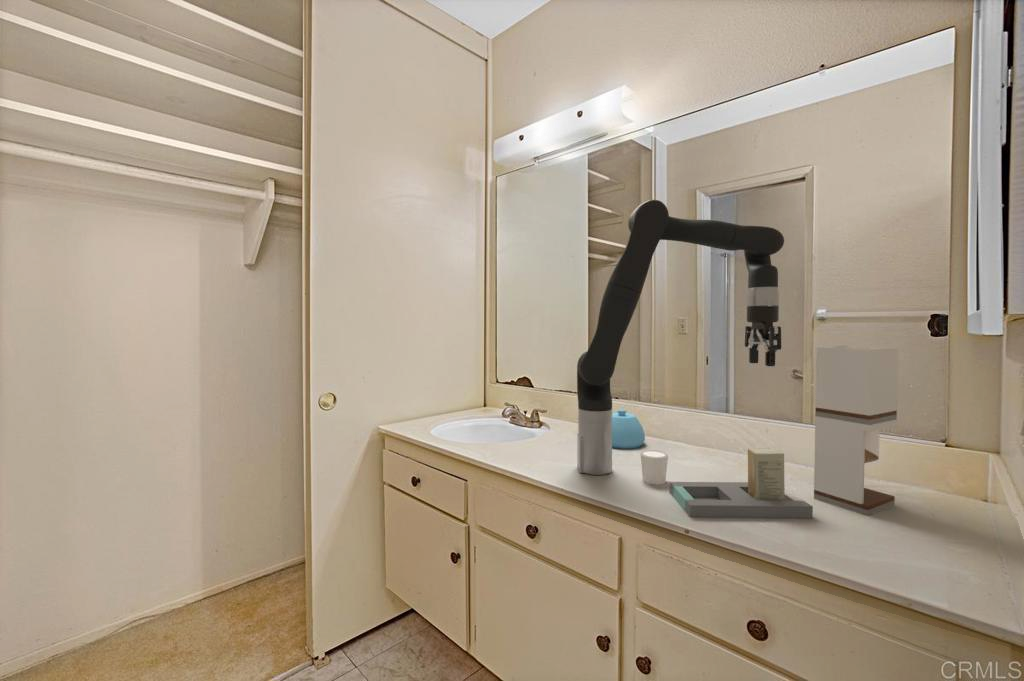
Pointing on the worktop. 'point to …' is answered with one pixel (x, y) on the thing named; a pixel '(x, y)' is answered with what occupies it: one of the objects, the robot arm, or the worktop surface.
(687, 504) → the slot holder
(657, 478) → the white tapered cup
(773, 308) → the robot arm
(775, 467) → the skincare box
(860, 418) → the coffee maker
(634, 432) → the sugar bowl
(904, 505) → the worktop surface
